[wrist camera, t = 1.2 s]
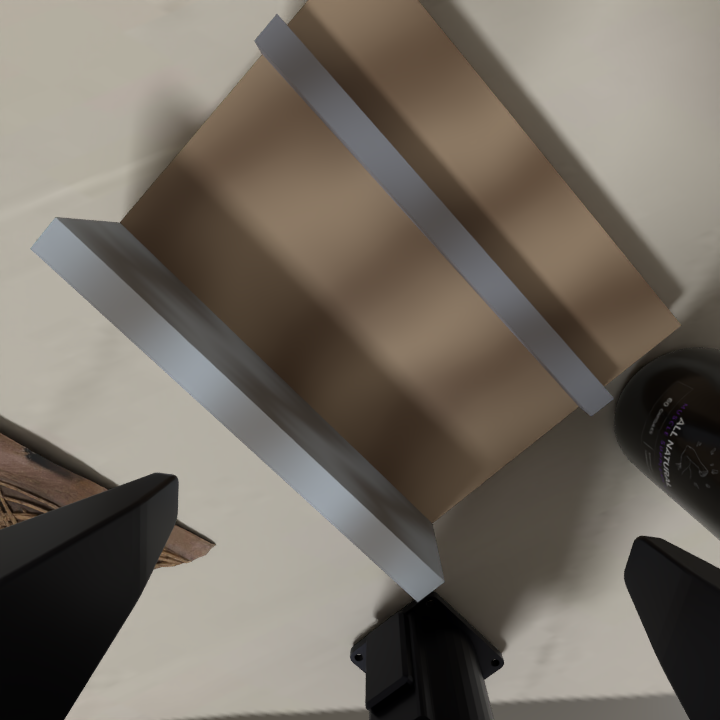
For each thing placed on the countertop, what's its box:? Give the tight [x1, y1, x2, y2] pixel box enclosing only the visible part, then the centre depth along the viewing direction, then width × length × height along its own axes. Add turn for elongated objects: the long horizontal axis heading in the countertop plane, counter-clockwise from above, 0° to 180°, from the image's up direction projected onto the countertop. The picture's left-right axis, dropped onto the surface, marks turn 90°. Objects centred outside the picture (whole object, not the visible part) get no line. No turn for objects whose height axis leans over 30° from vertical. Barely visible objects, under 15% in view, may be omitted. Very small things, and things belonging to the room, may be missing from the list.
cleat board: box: [30, 0, 681, 602], centre depth 18 cm, size 20×16×6 cm
